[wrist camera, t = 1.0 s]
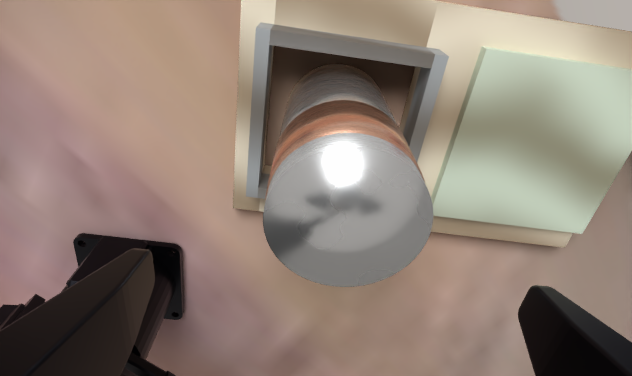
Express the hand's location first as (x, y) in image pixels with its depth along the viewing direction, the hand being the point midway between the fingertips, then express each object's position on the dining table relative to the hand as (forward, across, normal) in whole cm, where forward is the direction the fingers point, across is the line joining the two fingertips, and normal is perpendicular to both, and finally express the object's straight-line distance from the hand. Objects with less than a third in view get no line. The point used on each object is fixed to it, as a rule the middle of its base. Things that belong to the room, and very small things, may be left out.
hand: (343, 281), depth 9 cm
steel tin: (+13, 0, 0) cm, 13 cm away
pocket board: (+13, -5, 0) cm, 14 cm away
